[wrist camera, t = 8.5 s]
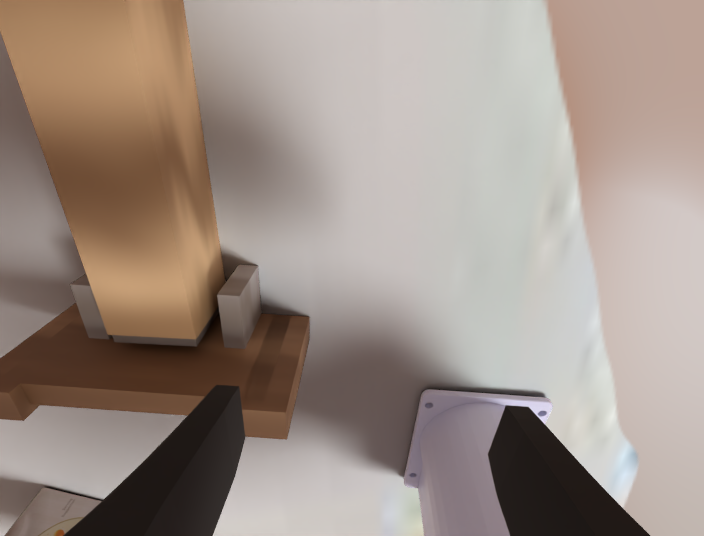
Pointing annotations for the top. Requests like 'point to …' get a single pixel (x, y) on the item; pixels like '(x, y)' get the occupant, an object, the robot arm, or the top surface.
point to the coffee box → (52, 514)
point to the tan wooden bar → (125, 156)
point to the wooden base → (163, 362)
